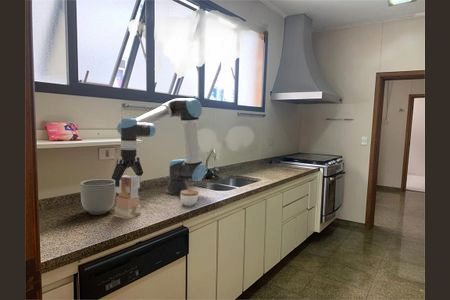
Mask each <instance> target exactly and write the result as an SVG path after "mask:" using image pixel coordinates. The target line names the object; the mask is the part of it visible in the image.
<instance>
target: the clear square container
mask: <svg viewBox="0 0 450 300" xmlns="http://www.w3.org/2000/svg"><path fill="white" fill-rule="evenodd" d="M141 206H142V205H140V204H139V206H136V207H133V208H130V209H125V208H120V207H116V206H114V217H117V218H122V219H127V220H131V219H132V218H135V217H137V216H140V215H142V214H141V213H142V210H141V208H142V207H141Z"/></svg>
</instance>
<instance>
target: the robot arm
mask: <svg viewBox="0 0 450 300" xmlns="http://www.w3.org/2000/svg"><path fill="white" fill-rule="evenodd" d="M202 112H203V107H202V104H201V102H200V101H199V99H197V98H190V97H188V98H174V99H172V100H169V101H166V102H165V103H162V104H160V106H159V107H156V108H155V109H152V110H151V111H149V112H146V113H143V114H142V115H139V116H137V117H135V118H134V117H133V118H129V117H126V118H125V117H124V118H121V120H120V122H118V125H117V126H116V128H117V132H118V134H119V135H120V148H121V149H120V157H121V159H116V164H115V168H114V170H113V173H112V176H111V180H114V181H115V187H116V194H119V193H121V180H120V179H121V177H122V176H124V174H125V171H126V170H127V169H128V168H129V169H130V168H131V169H132V170H133V172H134V173H135V175H134V176H136V177H138V189H140V188H141V187H140V186H141V176H143V174H144V171H143V168H142V164H141V162H140V157H137V144H138V143H137V140H138V139H137V138H150V137H153V136H154V135H155V134H156V126H155V124H157V123H158V122H160V121H162V120H164V119H170V118H173V117H179V118H180V121H181V122H182V124H183V133H184V144H185V145H184V146H185V147H184V148H185V157H186V158H183V159H182V158H181V159H179V158H178V159H173V160H170V162H169V166H168V167H169V175H168V176H169V180H168V184H167V187H166V193H167V194H169V195H177V196H178V195H180V192H181V191H182V190H189V186H188V184H187V180H190V181H202V179H204V178H205V175H206V173H207V168H206V167H207V166H206V165H205V164H204V163H203V161H202V158H201V157H200V151H199V150H200V149H199V137H198V136H199V134H198V123H197V122H198V121H199V119H200V117H201V116H202Z"/></svg>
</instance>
